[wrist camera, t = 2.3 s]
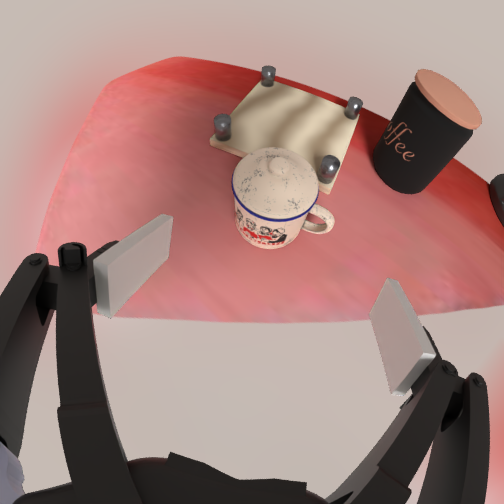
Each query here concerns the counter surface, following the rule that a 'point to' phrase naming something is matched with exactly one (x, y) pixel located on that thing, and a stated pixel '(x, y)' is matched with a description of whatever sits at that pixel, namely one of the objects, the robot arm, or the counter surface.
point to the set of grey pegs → (329, 162)
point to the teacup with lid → (276, 198)
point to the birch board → (289, 126)
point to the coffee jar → (424, 132)
